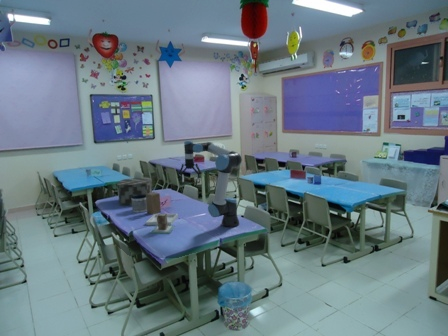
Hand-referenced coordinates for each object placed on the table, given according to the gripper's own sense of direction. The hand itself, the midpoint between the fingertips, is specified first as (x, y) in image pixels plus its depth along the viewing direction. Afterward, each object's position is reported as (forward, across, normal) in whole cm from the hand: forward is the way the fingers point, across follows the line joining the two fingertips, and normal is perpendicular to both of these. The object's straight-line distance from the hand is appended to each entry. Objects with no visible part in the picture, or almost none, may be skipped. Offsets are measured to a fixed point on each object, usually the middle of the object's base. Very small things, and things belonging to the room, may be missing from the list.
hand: (190, 181), depth 291 cm
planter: (+35, +59, -27) cm, 74 cm away
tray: (+35, +26, +7) cm, 44 cm away
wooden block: (+35, +42, -18) cm, 58 cm away
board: (+35, +19, +29) cm, 49 cm away
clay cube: (+34, +26, +13) cm, 45 cm away
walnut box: (+33, +19, +29) cm, 48 cm away
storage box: (+35, +77, -63) cm, 105 cm away
